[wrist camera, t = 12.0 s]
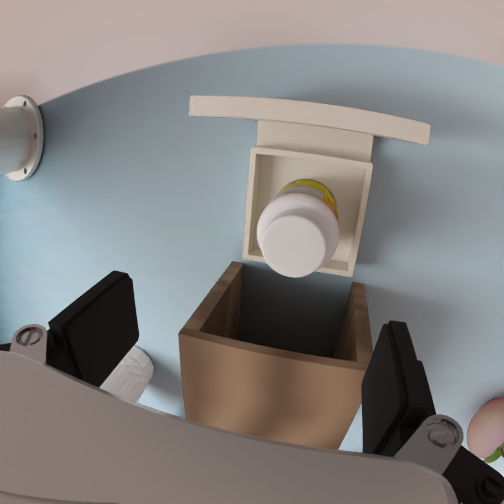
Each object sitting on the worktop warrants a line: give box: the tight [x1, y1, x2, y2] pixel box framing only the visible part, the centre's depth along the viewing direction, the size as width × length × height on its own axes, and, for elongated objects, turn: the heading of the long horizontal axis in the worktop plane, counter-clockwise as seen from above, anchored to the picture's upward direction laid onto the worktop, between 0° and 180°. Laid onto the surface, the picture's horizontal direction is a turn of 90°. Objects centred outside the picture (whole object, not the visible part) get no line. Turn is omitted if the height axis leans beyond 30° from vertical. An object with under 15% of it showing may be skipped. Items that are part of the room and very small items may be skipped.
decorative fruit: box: [467, 398, 504, 463], centre depth 28 cm, size 9×8×10 cm
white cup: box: [100, 346, 154, 402], centre depth 39 cm, size 8×8×10 cm
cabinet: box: [178, 262, 373, 450], centre depth 29 cm, size 14×14×13 cm
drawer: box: [189, 96, 431, 277], centre depth 23 cm, size 14×14×11 cm
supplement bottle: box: [257, 179, 339, 278], centre depth 24 cm, size 6×6×10 cm
